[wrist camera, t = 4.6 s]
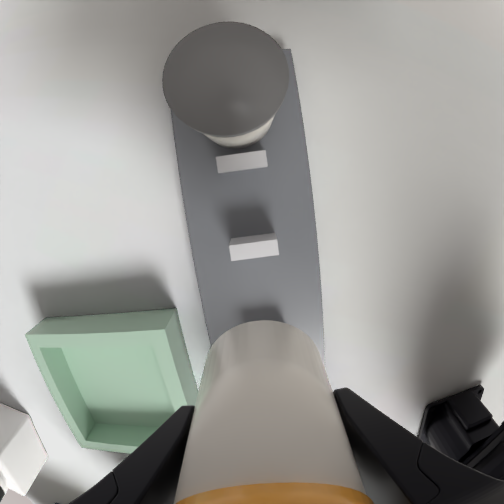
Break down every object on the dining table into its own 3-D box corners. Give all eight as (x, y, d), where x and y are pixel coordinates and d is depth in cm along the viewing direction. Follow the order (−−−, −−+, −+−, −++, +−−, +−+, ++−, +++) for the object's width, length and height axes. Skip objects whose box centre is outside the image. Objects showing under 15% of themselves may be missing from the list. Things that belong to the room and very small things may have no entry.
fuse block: (323, 430, 23) (342, 509, 15) (237, 440, 23) (233, 521, 15) (288, 56, 16) (310, -15, 8) (171, 73, 17) (120, 15, 9)
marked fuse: (325, 406, 11) (367, 569, 4) (215, 419, 11) (193, 583, 4) (321, 308, 10) (405, 496, 3) (190, 324, 10) (121, 516, 3)
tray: (210, 430, 23) (205, 456, 20) (93, 425, 23) (81, 447, 20) (176, 307, 20) (164, 329, 17) (45, 317, 20) (25, 334, 18)
